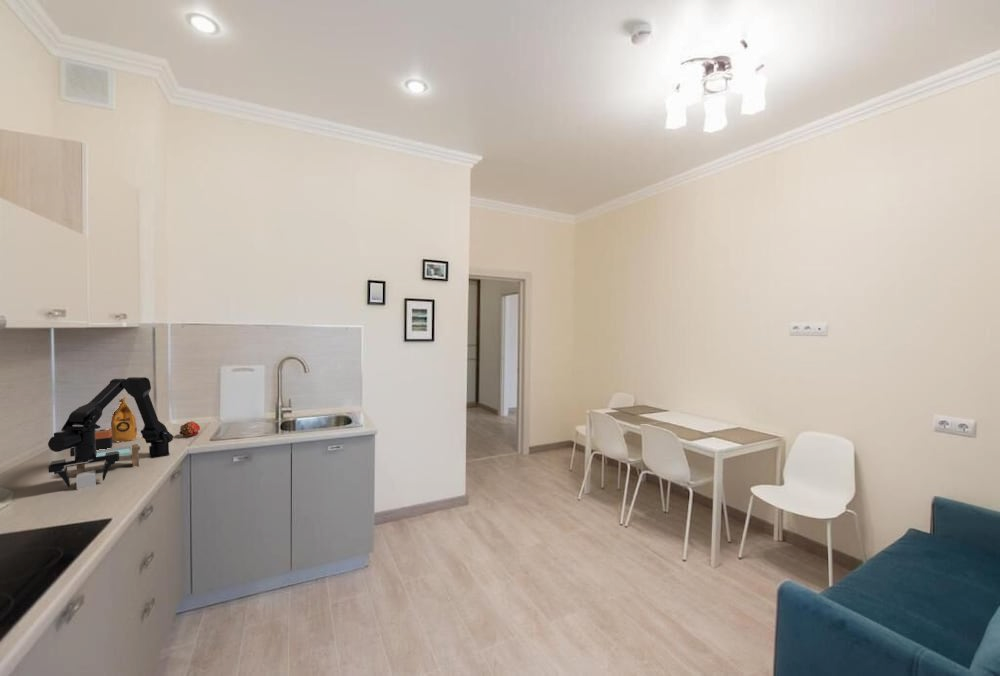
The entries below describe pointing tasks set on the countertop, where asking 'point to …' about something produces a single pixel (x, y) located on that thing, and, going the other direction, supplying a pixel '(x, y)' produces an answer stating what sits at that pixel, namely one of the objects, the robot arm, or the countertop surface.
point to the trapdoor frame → (134, 459)
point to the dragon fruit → (189, 429)
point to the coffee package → (123, 423)
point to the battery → (103, 438)
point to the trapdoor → (121, 450)
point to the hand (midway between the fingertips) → (86, 483)
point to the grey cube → (86, 479)
